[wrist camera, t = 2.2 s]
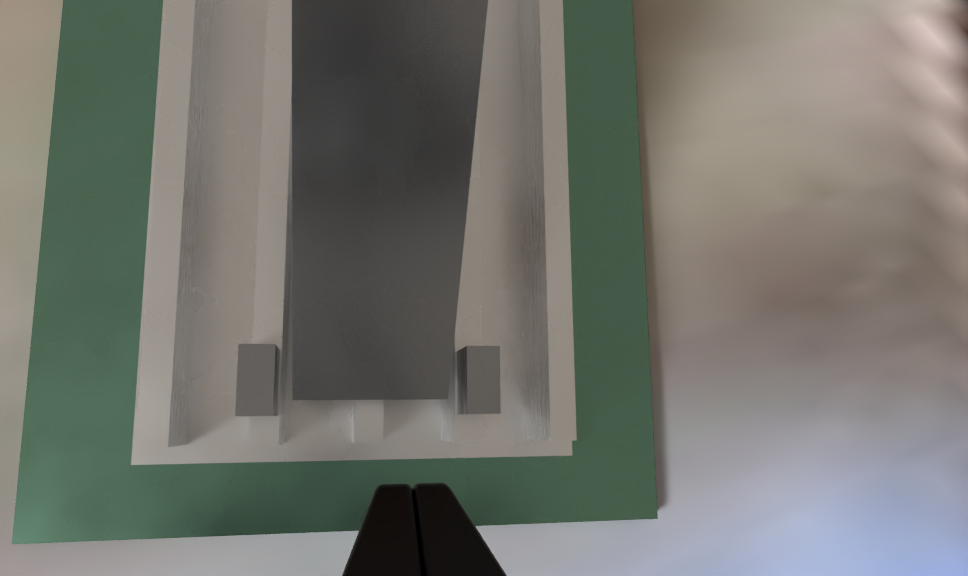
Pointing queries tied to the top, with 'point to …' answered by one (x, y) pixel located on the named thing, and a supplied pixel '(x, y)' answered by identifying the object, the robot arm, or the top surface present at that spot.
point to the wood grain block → (380, 192)
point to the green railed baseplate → (268, 289)
